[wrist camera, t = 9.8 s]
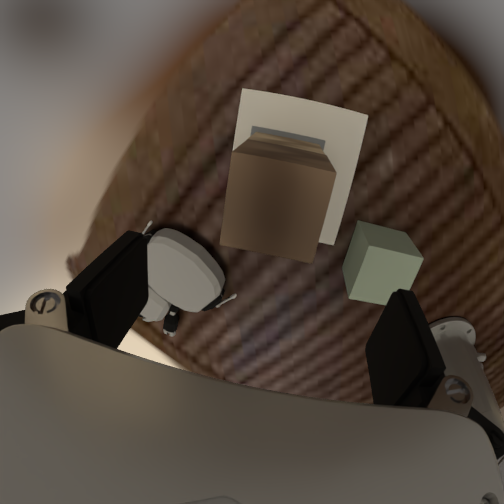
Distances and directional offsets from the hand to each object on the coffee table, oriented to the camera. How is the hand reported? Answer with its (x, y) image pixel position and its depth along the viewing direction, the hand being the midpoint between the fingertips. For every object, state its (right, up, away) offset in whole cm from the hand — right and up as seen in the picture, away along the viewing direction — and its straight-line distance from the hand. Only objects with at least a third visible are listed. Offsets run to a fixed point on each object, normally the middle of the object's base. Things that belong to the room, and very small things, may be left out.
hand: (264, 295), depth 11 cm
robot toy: (-10, -1, +27) cm, 29 cm away
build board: (+4, +10, +18) cm, 21 cm away
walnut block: (+2, +7, +12) cm, 14 cm away
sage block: (+13, +2, +22) cm, 25 cm away
